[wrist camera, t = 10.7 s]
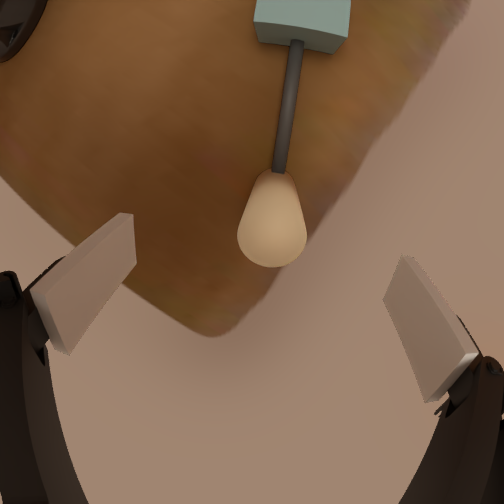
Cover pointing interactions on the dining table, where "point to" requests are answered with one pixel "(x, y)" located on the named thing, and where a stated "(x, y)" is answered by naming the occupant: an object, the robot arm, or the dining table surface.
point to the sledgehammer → (287, 126)
